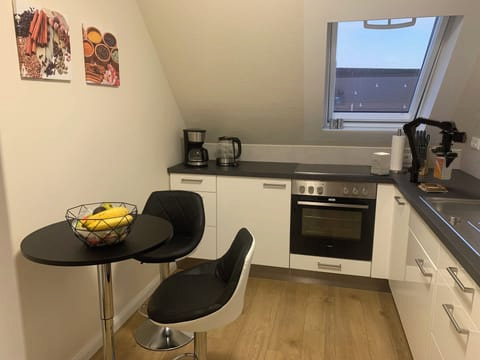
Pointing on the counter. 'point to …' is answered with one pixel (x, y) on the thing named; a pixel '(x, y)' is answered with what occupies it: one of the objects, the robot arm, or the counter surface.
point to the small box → (442, 169)
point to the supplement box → (380, 163)
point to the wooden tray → (432, 187)
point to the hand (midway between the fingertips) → (443, 166)
